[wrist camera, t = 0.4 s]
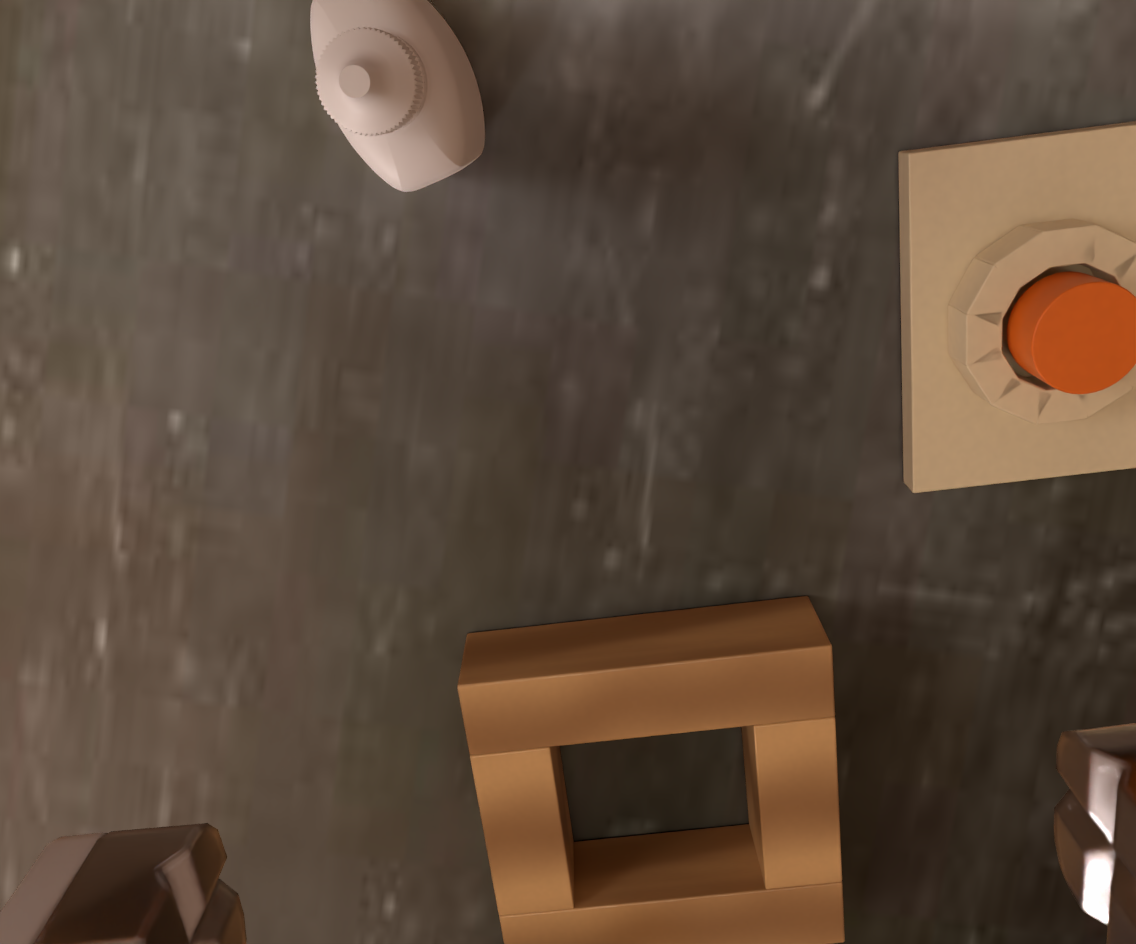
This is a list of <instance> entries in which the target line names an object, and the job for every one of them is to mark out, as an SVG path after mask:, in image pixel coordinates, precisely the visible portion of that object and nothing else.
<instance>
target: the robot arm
mask: <svg viewBox="0 0 1136 944" xmlns="http://www.w3.org/2000/svg"><path fill="white" fill-rule="evenodd" d="M1056 769H1057V771H1058V772H1059V774H1060V775H1061V776H1062V778H1063V779H1064V781H1065V782H1066V783H1067V785H1068V786H1069V788H1070V789H1069V790H1068V791H1067V793H1066V794H1065V795H1064V796H1063V798H1062V799H1061V800H1060V801H1059V803H1058V804H1057V805H1056V806H1055V807H1054V839H1055V844H1056V849H1057V853H1058V858H1059V863H1060V867H1061V870H1062V872H1063V875H1064V877H1065V879H1066V882H1067V884H1068V887H1069V889H1070V891H1071V892H1072V894H1073V896H1074V897H1075V899H1076V901H1077V902H1078V904H1079V906H1080V907H1081V909H1082V911H1084V912H1085V913H1087V914H1089V915H1091V916H1092V917H1094V918H1096V919H1097V920H1099V921H1101V922H1102V923H1104V924H1106V925H1108V933H1107V944H1136V723H1134V724H1125V725H1116V726H1107V727H1099V728H1090V729H1081V730H1072V731H1063V732H1062V735H1061V737H1060V740H1059V743H1058V745H1057V759H1056ZM226 859H227V855H226V852H225V849H224V846H223V843H222V841H221V838H220V835H219V832H218V829H216V828H214V827H213V826H211V825H209V824H208V823H204V824H192V825H180V826H169V827H157V828H145V829H134V830H122V831H111V832H109V833H103V832H102V833H92V834H83V835H73V836H63V837H60V838H58V839H56V840H54V841H52V842H50V843H48V844H47V845H46V846H45V848H44V849H43V851H42V852H41V854H40V855H39V857H38V858H37V860H36V861H35V862H34V864H33V865H32V867H31V868H30V870H29V871H28V873H27V874H26V876H25V877H24V878H23V880H22V881H21V883H20V884H19V886H18V887H17V889H16V890H15V892H14V893H13V895H12V896H11V897H10V899H9V900H8V902H7V903H6V905H5V906H4V908H3V909H2V911H1V912H0V944H246V930H245V921H244V913H243V910H242V906H241V902H240V899H239V895H238V893H236V892H235V891H234V890H233V889H231V888H230V887H229V886H228V885H226V884H225V883H224V882H223V881H221V880H220V879H219V875H220V873H221V871H222V868H223V866H224V863H225V861H226Z"/></svg>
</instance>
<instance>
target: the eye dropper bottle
mask: <svg viewBox="0 0 1136 944" xmlns="http://www.w3.org/2000/svg"><path fill="white" fill-rule="evenodd" d="M310 24H311V39H312V48H313V55H314V60H315V65H316V69H317V70H316V73H317V75H316V76H315V78H316V79H317V81H316V82H315V83H316V84H317V87H316V89H317V90H318V93H317V94H318V95H320V97H319V100H321V101H322V103H321V105H324V110H327V114H329V115H331V119H334V120H335V123H336V122H337V123H338V125H339V127H340V128H341V130H342V132H343V133H344V135H345V136H346V138H347V139H348V141H349V142H350V144H351V145H352V146H353V148H354V149H355V150H356V152H357V153H358V154H359V155H360V156H361V158H362V159H363V160H364V161H365V162H366V163H367V164H368V165H369V166H370V167H371V168H372V169H373V171H374V172H375V173H377V174H378V175H379V176H380V177H381V178H382V179H383V180H384V181H385V182H387V183H388V184H389V185H391V186H392V187H393V188H396V189H398V190H400V191H403V192H409V191H416V190H418V189H421V188H424V187H426V186H428V185H431V184H433V183H435V182H438V181H440V180H442V179H444V178H446V177H448V176H450V175H452V174H454V173H456V172H458V171H460V170H462V169H463V168H465V167H466V166H468V165H469V164H471V163H472V162H473V161H475V160H476V159H477V158H478V157H479V156H480V155H481V154H482V152H483V149H484V146H485V123H484V113H483V107H482V101H481V96H480V92H479V88H478V84H477V81H476V78H475V75H474V72H473V70H472V67H471V64H470V62H469V60H468V58H467V55H466V53H465V51H464V50H463V48H462V46H461V44H460V42H459V40H458V39H457V37H456V35H455V34H454V32H453V31H452V29H451V28H450V26H449V25H448V24H447V22H446V21H445V20H444V18H443V17H442V16H441V15H440V14H439V12H438V11H437V10H436V9H435V8H434V7H433V6H432V5H431V3H430V2H429V1H428V0H313V2H312V5H311V16H310Z"/></svg>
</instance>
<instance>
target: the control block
mask: <svg viewBox="0 0 1136 944" xmlns="http://www.w3.org/2000/svg"><path fill="white" fill-rule="evenodd" d="M898 158H899V222H900V286H901V350H902V414H903V478H904V483H905V484H906V485H907V486H908V488H909V489H910V490H911V491H912V492H913V493H919V492H928V491H937V490H946V489H954V488H963V487H972V486H981V485H989V484H998V483H1007V482H1016V481H1024V480H1033V479H1042V478H1051V477H1059V476H1068V475H1077V474H1086V473H1094V472H1103V471H1112V470H1121V469H1130V468H1136V364H1135V365H1134V367H1133V368H1132V369H1131V370H1130V371H1129V373H1128V374H1127V375H1125V376H1124V377H1123V378H1122V379H1121V380H1119V381H1118V382H1117V383H1115V384H1113V385H1112V386H1110V387H1108V388H1106V389H1103V390H1101V391H1097V392H1094V393H1089V394H1070V393H1065V392H1062V391H1059V390H1057V389H1055V388H1053V387H1051V386H1050V385H1048V384H1046V383H1045V382H1043V381H1042V380H1040V379H1038V378H1037V377H1035V376H1033V375H1032V374H1030V373H1028V372H1027V371H1025V370H1024V369H1023V368H1021V367H1020V366H1019V365H1018V364H1017V362H1016V361H1015V360H1014V358H1013V356H1012V354H1011V353H1010V350H1009V347H1008V342H1007V324H1008V320H1009V317H1010V314H1011V311H1012V309H1013V307H1014V305H1015V303H1016V302H1017V300H1018V299H1019V298H1020V296H1021V295H1022V294H1023V293H1024V292H1025V291H1026V290H1027V289H1028V288H1029V287H1030V286H1032V285H1033V284H1034V283H1036V282H1037V281H1039V280H1041V279H1042V278H1045V277H1047V276H1049V275H1052V274H1055V273H1060V272H1069V271H1072V272H1081V273H1085V274H1088V275H1091V276H1094V277H1097V278H1100V279H1103V280H1105V281H1108V282H1111V283H1114V284H1117V285H1119V286H1122V287H1123V288H1125V289H1127V290H1128V291H1130V292H1131V293H1132V294H1133V295H1134V296H1135V297H1136V121H1134V122H1126V123H1118V124H1110V125H1103V126H1095V127H1087V128H1079V129H1071V130H1063V131H1055V132H1048V133H1040V134H1032V135H1024V136H1016V137H1008V138H1000V139H992V140H985V141H977V142H969V143H961V144H953V145H945V146H937V147H930V148H922V149H914V150H906V151H900V152H899V153H898Z"/></svg>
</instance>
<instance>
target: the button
mask: <svg viewBox="0 0 1136 944" xmlns="http://www.w3.org/2000/svg"><path fill="white" fill-rule="evenodd" d="M1007 342H1008V347H1009V350H1010V353H1011V354H1012V356H1013V358H1014V360H1015V361H1016V362H1017V364H1018V365H1019V366H1020V367H1021V368H1023V369H1024V370H1025V371H1027V372H1028V373H1030V374H1032V375H1033V376H1035V377H1037V378H1038V379H1040V380H1042V381H1043V382H1045V383H1046V384H1048V385H1050V386H1051V387H1053V388H1055V389H1057V390H1059V391H1062V392H1065V393H1070V394H1089V393H1094V392H1097V391H1101V390H1103V389H1106V388H1108V387H1110V386H1112V385H1113V384H1115V383H1117V382H1118V381H1119V380H1121V379H1122V378H1123V377H1124V376H1125V375H1127V374H1128V373H1129V371H1130V370H1131V369H1132V368H1133V367H1134V365H1135V364H1136V297H1135V296H1134V295H1133V294H1132V293H1131V292H1130V291H1128V290H1127V289H1125V288H1123V287H1122V286H1119V285H1117V284H1114V283H1111V282H1108V281H1105V280H1103V279H1100V278H1097V277H1094V276H1091V275H1088V274H1085V273H1081V272H1072V271H1069V272H1060V273H1055V274H1052V275H1049V276H1047V277H1045V278H1042V279H1041V280H1039V281H1037V282H1036V283H1034V284H1033V285H1032V286H1030V287H1029V288H1028V289H1027V290H1026V291H1025V292H1024V293H1023V294H1022V295H1021V296H1020V298H1019V299H1018V300H1017V302H1016V303H1015V305H1014V307H1013V309H1012V311H1011V314H1010V317H1009V320H1008V324H1007Z"/></svg>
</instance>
